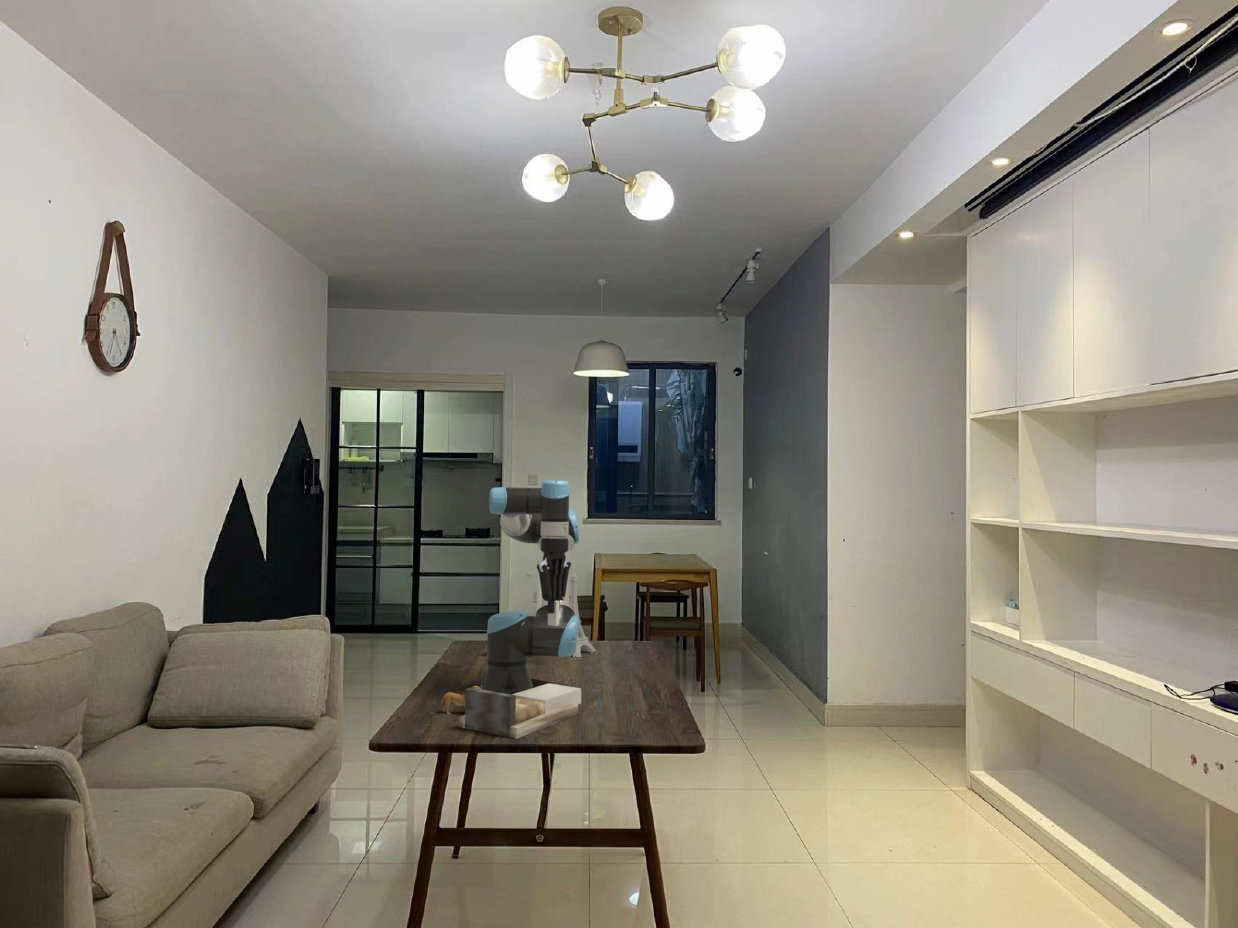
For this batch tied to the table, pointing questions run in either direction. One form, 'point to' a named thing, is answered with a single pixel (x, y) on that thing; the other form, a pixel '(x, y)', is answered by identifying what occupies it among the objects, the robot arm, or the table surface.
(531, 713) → the roller mid
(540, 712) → the roller rear
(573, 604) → the eiffel tower
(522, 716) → the roller front
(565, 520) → the robot arm
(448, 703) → the lion figurine
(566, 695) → the slab
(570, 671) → the table surface
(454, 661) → the table surface
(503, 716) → the track
